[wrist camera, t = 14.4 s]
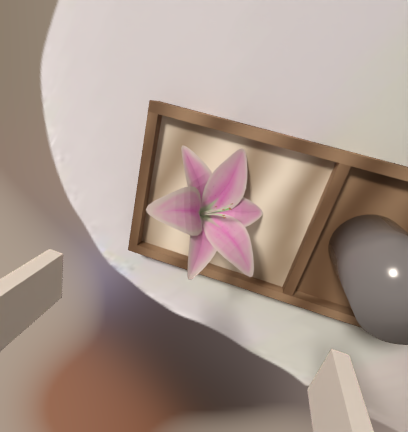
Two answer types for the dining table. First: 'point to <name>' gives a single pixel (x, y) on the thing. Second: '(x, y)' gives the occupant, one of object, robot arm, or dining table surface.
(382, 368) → the dining table surface
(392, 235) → the grey rounded cylinder
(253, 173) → the tray
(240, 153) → the lily
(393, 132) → the dining table surface
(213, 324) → the dining table surface
